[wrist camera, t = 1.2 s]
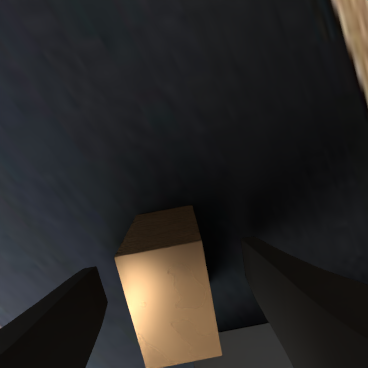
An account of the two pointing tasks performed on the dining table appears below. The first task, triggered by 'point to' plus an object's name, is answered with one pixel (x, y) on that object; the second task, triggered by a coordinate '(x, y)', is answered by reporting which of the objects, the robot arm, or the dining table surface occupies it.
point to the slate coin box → (248, 350)
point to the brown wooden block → (168, 288)
